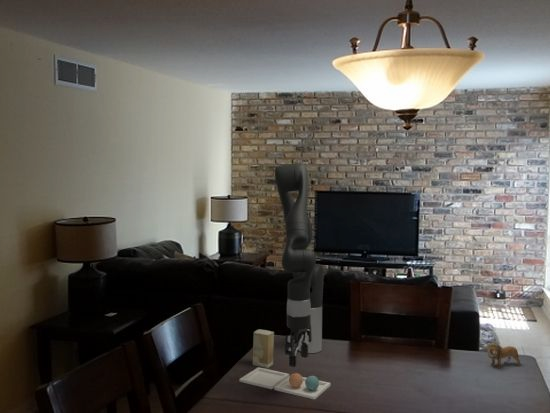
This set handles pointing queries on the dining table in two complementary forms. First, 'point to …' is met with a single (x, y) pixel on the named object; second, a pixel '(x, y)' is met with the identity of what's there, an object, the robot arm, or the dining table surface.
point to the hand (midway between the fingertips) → (298, 361)
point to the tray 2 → (302, 388)
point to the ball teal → (312, 383)
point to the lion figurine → (502, 354)
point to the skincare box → (263, 348)
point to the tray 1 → (264, 378)
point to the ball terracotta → (295, 380)
